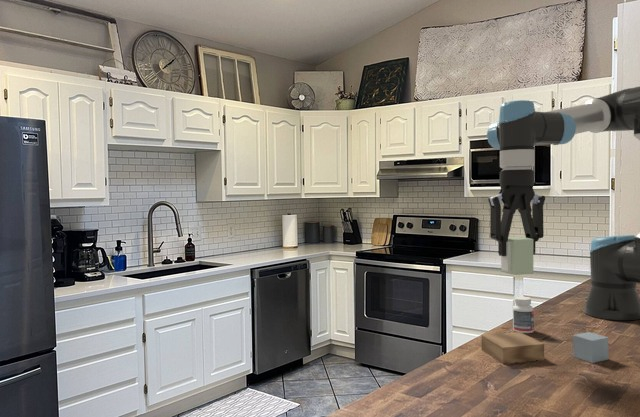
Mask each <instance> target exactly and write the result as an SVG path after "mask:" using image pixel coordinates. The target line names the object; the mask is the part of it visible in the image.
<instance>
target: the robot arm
mask: <svg viewBox="0 0 640 417" xmlns="http://www.w3.org/2000/svg"><path fill="white" fill-rule="evenodd" d="M621 131H623V132H624V131H626V132H628V131H633V137H635V139H638V141H640V86H636V87H631V88H625V89H621V90H619V91H615V92H613V93H609V94H607V95H604V96H600V97H596V98H592V99H590V100H588V101H586V102H584V104H580V105H575V106H574V105H573V106H569V107H565V108H559V109H554V110H549V111H536V109H535V104H534V102H533V101H530V100H528V99H527V100H524V99H523V100H521V99H520V100H511V101H505V102H503V103H502V104H501V105H500V108H499V116H498V121H495V122H492V123H491V124H490V125H489V127H488V129H487V132H486V138H487V142H488V144H489V145H490V146H491V148H493V149H495V150H499V168H500V169H502V170H500V172H499V186H500V191H499V193H498V194H497V195H494V196H489V197H488V198H487V201H488V203H489V206H490V208H489V209H490V211H489V212H490V214H489V215H490V216H489V217H490V218H489V221H490V223H489V225H490V227H489V232H490V233H489V238H490V239H491V240H493V241H494V240H495V241H496V242H498V256H500V257H501V258H500V262H501V263H500V264H501V265H500V266H501V267H500V268H501V269H502V270H506V271H511V243H510V242H507V241H508V238H510V232H511V228H512V227H511V226H512V223H513V219H514V215H515V213H516V211H518V213H519V215H520V218H521V222H522V226H523V228H522V229H523V231H524V236H525V238H530V239H533V256H534V255H536V243H537V242H539V241H540V239H543V238H544V233H545V231H544V204H545V201H546V196H545V195H538V194H536V193H535V190H534V185H535V171H534V170H533V168H534V167H535V146H537V147H538V146H545V145H553V146H558V145H565V144H568V143H570V142H571V141H572V140H573V139H574V137H575V135H577V134H582V133H586V132H590V133H592V134H593V133H594V134H598V133H603V132H621ZM502 203H503V206H501V205H502ZM531 203H532V206H531ZM589 257H590V259H589V260H590V263H589V264H590V289H589V291H588V296H587V298H586V302H585V303H584V313H585V314H586V315H588V316H591V317H592V318H593V317H595V318H598V319H603V320H604V319H605V320H612V321H613V320H614V321H634V320H640V296H639V293H638V291H637V284H640V230H639V231H637V232H636V233H635V234H628V235H627V234H625V235H612V236H601V237H595V238H593V239H592V240H591V241H590V251H589Z"/></svg>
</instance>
